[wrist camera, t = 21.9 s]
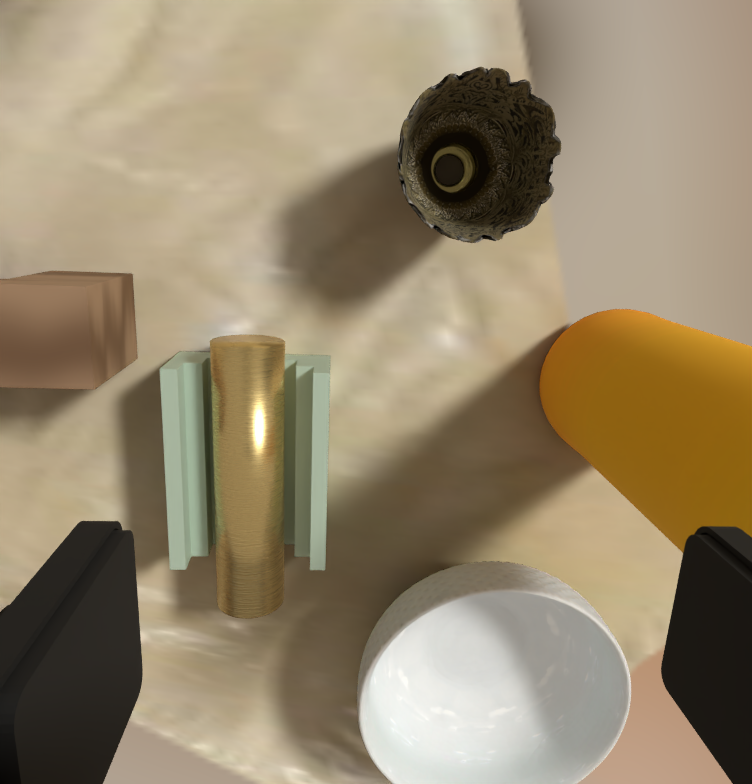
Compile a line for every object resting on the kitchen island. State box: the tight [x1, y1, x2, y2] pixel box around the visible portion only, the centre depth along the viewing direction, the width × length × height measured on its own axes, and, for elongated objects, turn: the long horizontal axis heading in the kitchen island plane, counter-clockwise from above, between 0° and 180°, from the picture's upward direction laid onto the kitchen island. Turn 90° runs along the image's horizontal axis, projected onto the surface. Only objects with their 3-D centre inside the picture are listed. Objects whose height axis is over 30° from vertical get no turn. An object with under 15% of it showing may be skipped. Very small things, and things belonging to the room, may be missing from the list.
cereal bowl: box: [357, 561, 631, 784], centre depth 41 cm, size 17×17×7 cm
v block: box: [160, 351, 330, 570], centre depth 37 cm, size 12×9×4 cm
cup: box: [397, 67, 561, 243], centre depth 32 cm, size 8×7×8 cm
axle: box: [210, 335, 285, 618], centre depth 36 cm, size 16×4×4 cm, turn 178°
